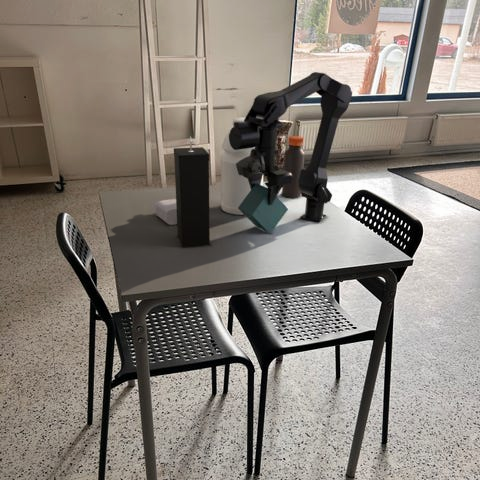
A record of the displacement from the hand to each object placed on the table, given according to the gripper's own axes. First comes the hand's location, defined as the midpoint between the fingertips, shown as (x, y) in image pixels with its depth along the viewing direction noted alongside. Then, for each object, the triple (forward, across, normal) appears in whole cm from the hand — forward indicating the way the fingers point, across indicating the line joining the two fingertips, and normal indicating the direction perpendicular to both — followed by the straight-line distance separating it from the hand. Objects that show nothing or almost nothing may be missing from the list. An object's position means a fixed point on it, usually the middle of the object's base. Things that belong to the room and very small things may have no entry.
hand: (262, 201), depth 144 cm
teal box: (+2, 0, 0) cm, 2 cm away
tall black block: (+9, -3, -21) cm, 24 cm away
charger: (+9, -25, -17) cm, 31 cm away
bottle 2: (+9, -22, +30) cm, 38 cm away
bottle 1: (+9, -19, +6) cm, 22 cm away
